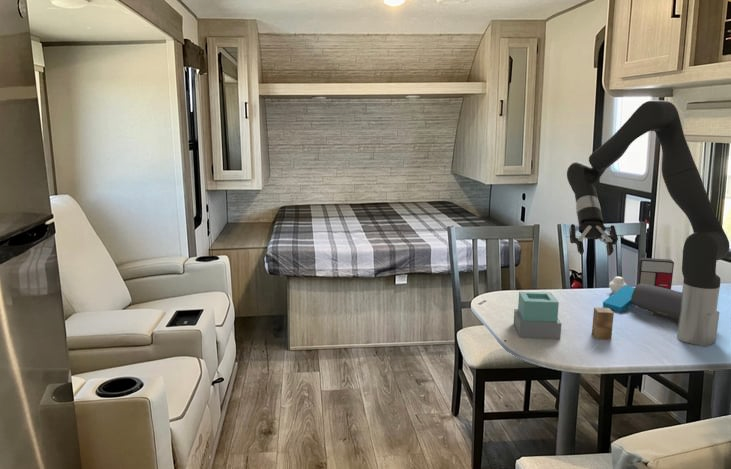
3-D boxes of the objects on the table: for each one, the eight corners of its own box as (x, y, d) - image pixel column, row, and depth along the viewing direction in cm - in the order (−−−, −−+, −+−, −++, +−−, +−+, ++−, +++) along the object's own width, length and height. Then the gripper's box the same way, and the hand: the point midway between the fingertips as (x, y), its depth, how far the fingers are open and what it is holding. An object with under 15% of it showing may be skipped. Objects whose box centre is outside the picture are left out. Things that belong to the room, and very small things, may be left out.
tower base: (551, 325, 176) (553, 291, 174) (560, 339, 164) (562, 303, 162) (513, 323, 177) (515, 290, 175) (519, 337, 166) (521, 302, 163)
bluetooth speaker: (711, 327, 174) (715, 297, 172) (695, 332, 170) (699, 301, 168) (645, 307, 194) (648, 280, 192) (629, 311, 189) (631, 283, 187)
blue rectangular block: (622, 324, 190) (650, 302, 199) (620, 307, 188) (649, 285, 196) (604, 319, 195) (631, 297, 204) (602, 302, 193) (630, 281, 202)
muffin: (624, 297, 205) (625, 279, 204) (606, 294, 209) (608, 276, 208) (627, 293, 210) (629, 275, 209) (610, 290, 214) (612, 273, 212)
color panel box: (637, 299, 203) (641, 260, 200) (635, 295, 207) (639, 257, 204) (670, 302, 200) (674, 262, 197) (667, 298, 204) (671, 259, 201)
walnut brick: (606, 334, 168) (608, 308, 167) (611, 339, 164) (613, 312, 162) (591, 333, 169) (594, 307, 167) (596, 339, 164) (598, 312, 163)
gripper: (569, 205, 180) (575, 246, 171) (614, 206, 178) (623, 248, 169) (564, 218, 186) (570, 259, 177) (607, 219, 184) (615, 260, 176)
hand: (596, 253), depth 173 cm, fingers open, 8 cm apart
